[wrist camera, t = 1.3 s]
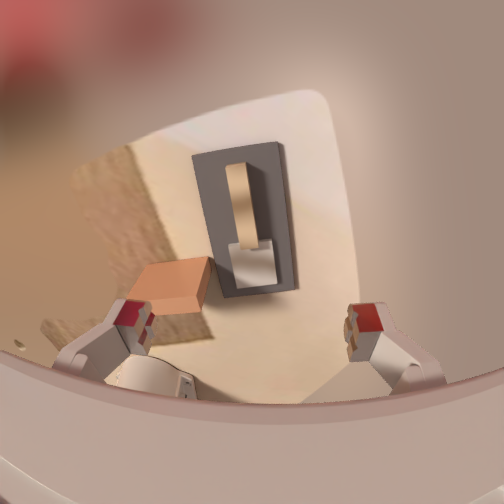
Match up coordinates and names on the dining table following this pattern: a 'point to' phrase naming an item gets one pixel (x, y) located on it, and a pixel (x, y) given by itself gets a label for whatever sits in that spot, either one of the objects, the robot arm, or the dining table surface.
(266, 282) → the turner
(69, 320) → the dining table surface
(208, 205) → the mat
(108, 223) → the dining table surface
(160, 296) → the tile
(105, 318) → the robot arm
